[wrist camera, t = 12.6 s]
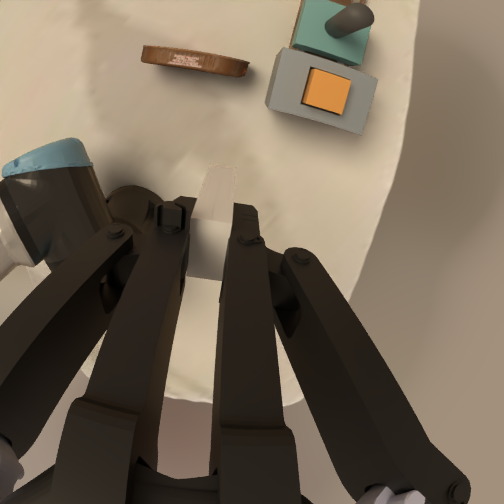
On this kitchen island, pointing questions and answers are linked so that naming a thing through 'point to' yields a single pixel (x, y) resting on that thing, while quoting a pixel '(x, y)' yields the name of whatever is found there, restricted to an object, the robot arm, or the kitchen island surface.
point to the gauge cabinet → (294, 81)
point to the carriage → (334, 30)
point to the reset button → (326, 91)
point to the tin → (194, 60)
